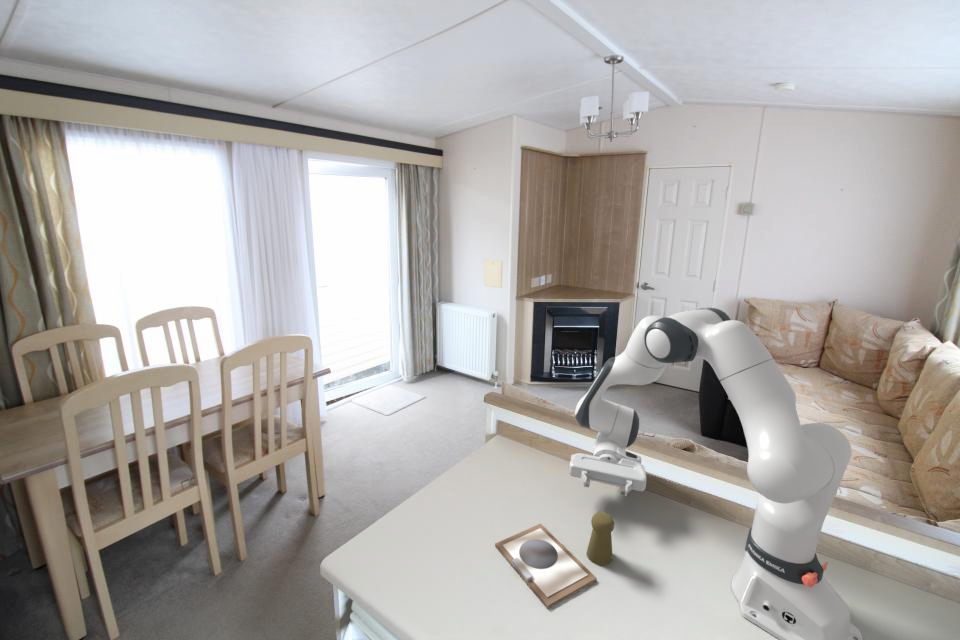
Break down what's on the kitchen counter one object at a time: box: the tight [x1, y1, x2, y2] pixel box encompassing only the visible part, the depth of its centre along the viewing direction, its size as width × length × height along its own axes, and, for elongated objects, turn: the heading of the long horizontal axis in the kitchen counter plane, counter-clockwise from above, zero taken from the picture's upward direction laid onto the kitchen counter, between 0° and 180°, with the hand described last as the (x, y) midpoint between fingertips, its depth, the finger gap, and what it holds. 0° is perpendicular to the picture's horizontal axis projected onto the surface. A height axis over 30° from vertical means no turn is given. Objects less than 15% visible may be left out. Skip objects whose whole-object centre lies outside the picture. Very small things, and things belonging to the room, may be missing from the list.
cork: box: [586, 511, 615, 567], centre depth 106 cm, size 6×6×11 cm
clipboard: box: [494, 523, 598, 609], centre depth 105 cm, size 20×14×2 cm
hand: (605, 489), depth 116 cm, fingers open, 8 cm apart
